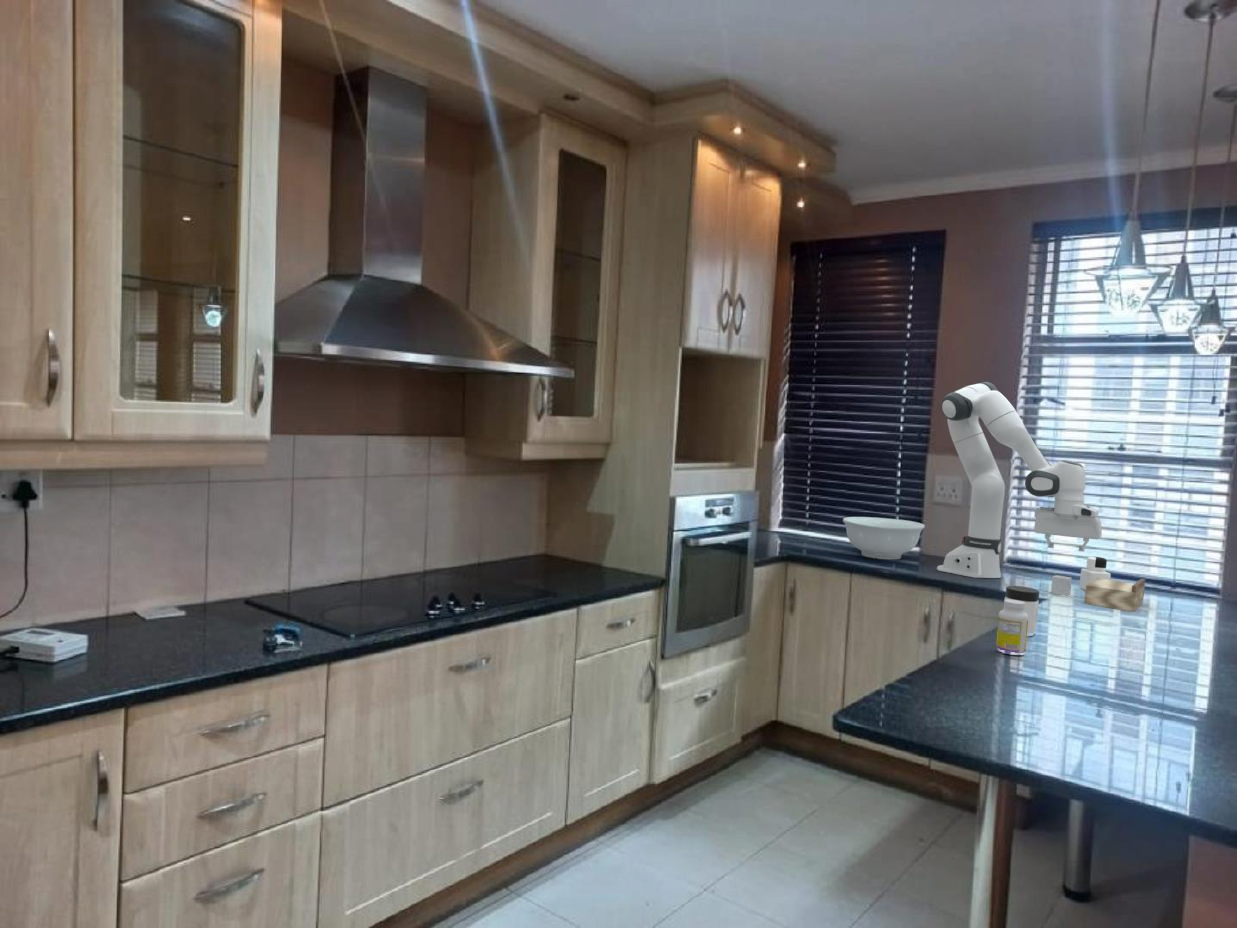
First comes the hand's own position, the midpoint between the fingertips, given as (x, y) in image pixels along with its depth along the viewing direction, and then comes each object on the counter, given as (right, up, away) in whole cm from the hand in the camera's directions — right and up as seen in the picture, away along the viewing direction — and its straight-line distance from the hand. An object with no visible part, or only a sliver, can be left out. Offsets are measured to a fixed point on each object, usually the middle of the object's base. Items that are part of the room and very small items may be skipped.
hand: (1066, 549), depth 290 cm
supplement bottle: (-56, -18, -80) cm, 100 cm away
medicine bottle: (+16, -16, +12) cm, 26 cm away
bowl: (-44, -9, +61) cm, 76 cm away
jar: (-43, -17, -58) cm, 75 cm away
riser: (+11, -17, -9) cm, 22 cm away
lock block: (-1, -16, +1) cm, 16 cm away
